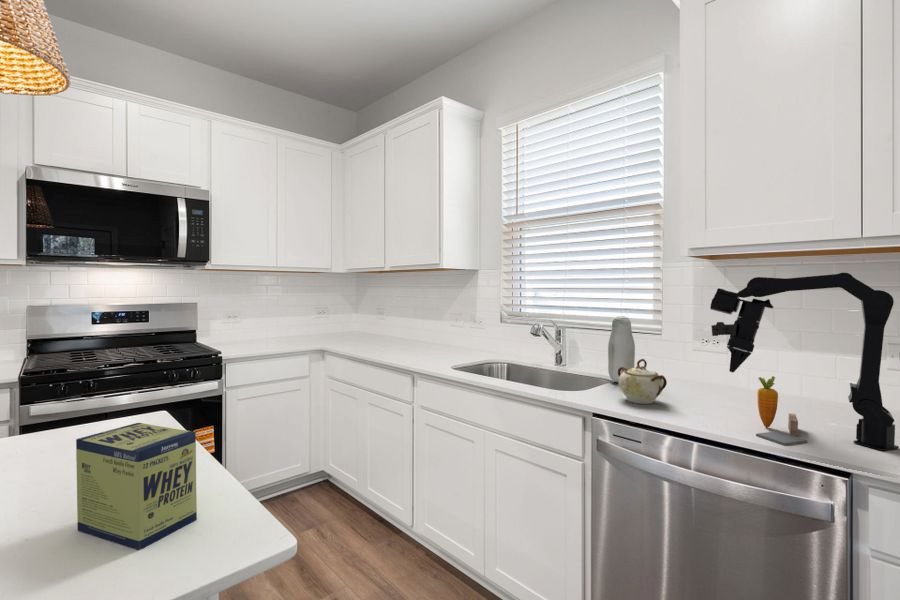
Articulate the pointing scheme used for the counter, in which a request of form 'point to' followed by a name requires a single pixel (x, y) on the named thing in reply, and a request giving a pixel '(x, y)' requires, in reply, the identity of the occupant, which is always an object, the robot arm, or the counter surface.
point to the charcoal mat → (781, 438)
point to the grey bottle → (620, 347)
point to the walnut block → (793, 424)
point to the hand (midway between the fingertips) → (731, 370)
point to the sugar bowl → (641, 384)
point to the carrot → (767, 401)
